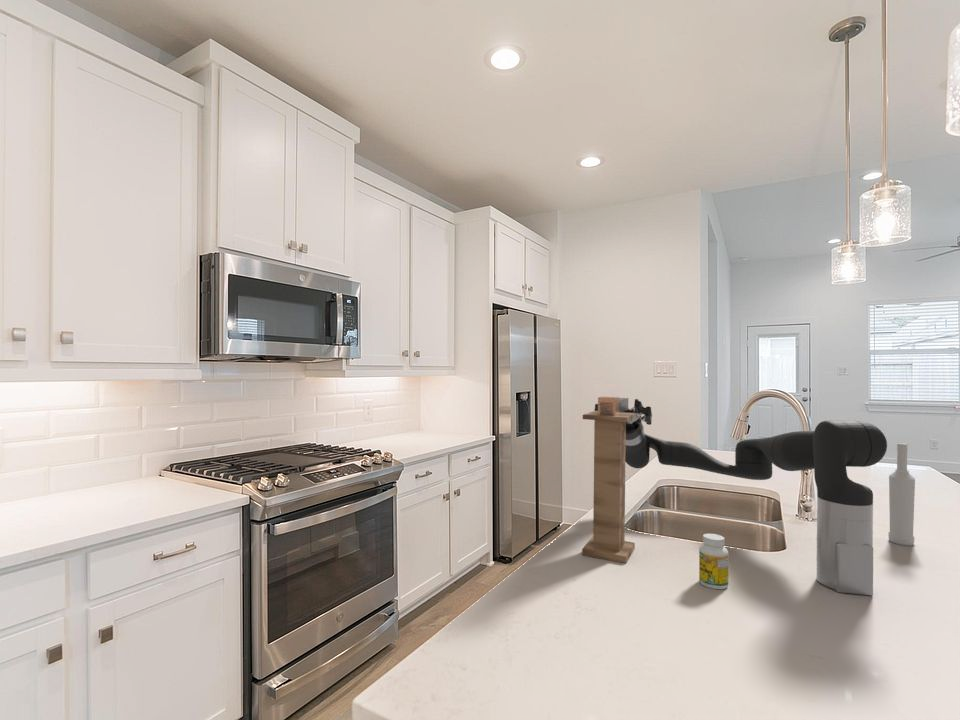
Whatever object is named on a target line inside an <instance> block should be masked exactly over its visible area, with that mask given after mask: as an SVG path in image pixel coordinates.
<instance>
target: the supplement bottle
mask: <svg viewBox="0 0 960 720" xmlns="http://www.w3.org/2000/svg"><path fill="white" fill-rule="evenodd" d="M725 540H726V539H725V537H724V536H722V535H720V534H717V533H703V534H702V542H703V543H702V544H701V545H700V546H699V550H698V553H699V559H698V560H699V562H698V563H699V565H698V566H699V568H698V570H699V571H698V573H699V575H698V578H699V582H700V584H701V585H703V586H705V587H706V588H708V589H713V590H725V589H727V588H728V587H729V550H728V549H727V548H726V547H725V543H726V541H725Z"/></svg>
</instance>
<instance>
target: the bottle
mask: <svg viewBox="0 0 960 720" xmlns="http://www.w3.org/2000/svg"><path fill="white" fill-rule="evenodd" d="M896 451H897V453H896V454H897V455H896V457H897V458H896V469H895V470H894V472H892V473H890V474H889V475H888V487H889V488H888V489H889V490H888V491H889V492H888V495H889V496H888V497H889V498H888V499H889V501H888V502H889V504H888V505H889V532H888V535H887V536H888V540H889V542H891V543H894V544H897V545H899V546H900V545H901V546H913V545H914V544H915V536H914V519H915V495H916V493H915V491H916V478H915V477H914V476H913V475H911V474H910V473H909V472H910V471H909V470H908V443H901V442H897V443H896Z"/></svg>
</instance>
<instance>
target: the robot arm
mask: <svg viewBox="0 0 960 720" xmlns="http://www.w3.org/2000/svg"><path fill="white" fill-rule="evenodd" d="M633 405H634V406H633V407H631V408H628V410H626V411H624V412H627V413H637V417H636V418H634V419H632V420H630V421H628V422H626V453H625V464H627V466H629V467H631V468H633V469H643V468H645V467H646V466H647V465H648V464H649V462H650V455H651V454H650V451H651V449H652V450H653V451H655V452H656V454H657V460H658V462H659V463H660V464H661V465H666V466H673V467H682V468H691V469H696V470H701V471H706V472H711V473H714V474H719V475H725V476H730V477H735V478H740V479H745V480H753V481H766V480H770V479H772V477H773V465H774V466H775V467H777V468H778V469H781V470H783V471H787V472H797V471H799V472H801V471H806V470H814V471H813V475H814V476H813V477H814V482H815V486H816V493H817V495H816V496H817V497H816V498H817V499H816V505H817V506H816V580H817V582H819V583H820V584H822V585H823V586H826V587H828V588H830V589H832V590H834V591H835V592H837V593H843V594H853V595H854V594H856V595H866V596H873V595H874V547H873V546H874V545H873V543H874V541H873V540H874V539H873V538H874V537H873V535H874V530H873V529H874V528H873V527H874V520H873V519H874V493H873V491H872V489H871V488H870V487H868V486H867V485H864V484H862V483H858V482H855V481H853V480H852V479H850V478H849V477H848V472H847V471H848V470H847V468H848V467H850V468H851V467H853V468H854V467H855V468H856V467H858V468H859V467H860V468H865V467H871V466H874V465H876V464H877V463H879V462H880V461H881V460H883V458H884V456H885V455H886V453H887V449H888V441H887V437H886V436H885V433H883V432H882V431H881V429H880V428H878V427H877V426H876V425H874V424H872V423H870V422H865V421H861V420H823V421H820V422H819V423H818V424H817V425H816V427H815V429H814V430H800V431H790V432H786V433H782V434H777V435H774V436H770V437H763V438H751V439H743V440H740V441H739V442H737V444H736V446H735V454H734V457H735V458H734V460H735V461H734V462H735V464H734V465H733V464H728V463H725V462H722V461H720V460H718V459H716V458H715V457H713V456H712V455H710V454H709V453H707V452H706V451H704V450H703V449H701V448H700V447H698V446H696V445H695V444H692V443H687V442H680V441H673V440H672V441H668V440H664V439H660V438H658V437H655V436H651V435H649V434H646V433H645V429H644V424H643V422H644V423H646V425H652V420H653V419H652V418H653V414H652V413H653V412H652V407H651V406H645V407H644V405H643V403H642V401H640V400H639V399H638V398H635V399H634V404H633ZM594 411H598V403H595V405H594Z"/></svg>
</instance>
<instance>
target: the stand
mask: <svg viewBox="0 0 960 720" xmlns="http://www.w3.org/2000/svg"><path fill="white" fill-rule="evenodd" d="M636 417H637V413H627V412H621V413H619V415H616V416H609V415H598V411H590V412H587V413H584V414H582V420H592V421H594V439H593V440H594V441H593V443H594V444H593V445H594V446H593V450H594V451H593V510H592V511H593V515H592V516H593V517H592V518H593V523H592V524H593V526H592V532H593V533H592V534H593V535H592V537H591V538H590V539H589V540H588V541H587V542H586V543H585V545H584V546H583V547H582V550H581V554H582V556H586V557H592V558H596V559H602V560H607V561H610V562H611V561H612V562H617V563H623V564H627V563H628V562H629V560H630V558H631V556H632V555H633V552H634V550H635V549H636V548H635V545H636V542H632V541H627V540H625V538H626V537H625V536H626V535H625V534H626V533H625V530H626V529H625V528H626V527H625V525H626V523H625V521H626V516H625V515H626V462H625V453H626V422H628V421H630V420H632V419H634V418H636Z"/></svg>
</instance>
